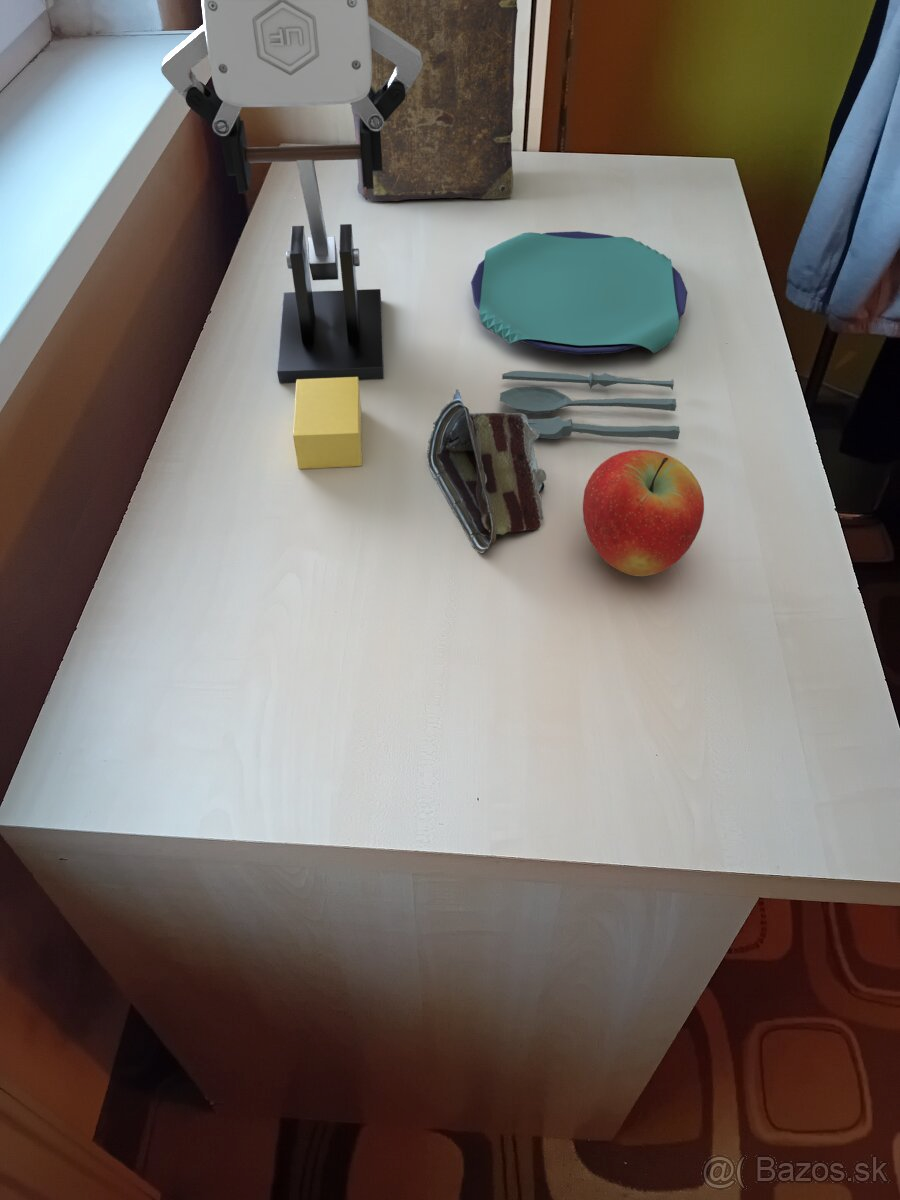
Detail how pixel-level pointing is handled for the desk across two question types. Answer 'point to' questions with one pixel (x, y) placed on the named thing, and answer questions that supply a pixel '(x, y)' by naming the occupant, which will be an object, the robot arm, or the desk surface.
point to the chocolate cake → (487, 471)
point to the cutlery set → (580, 316)
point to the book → (447, 101)
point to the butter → (328, 423)
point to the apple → (642, 511)
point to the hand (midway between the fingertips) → (307, 181)
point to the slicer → (329, 320)
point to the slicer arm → (311, 196)
